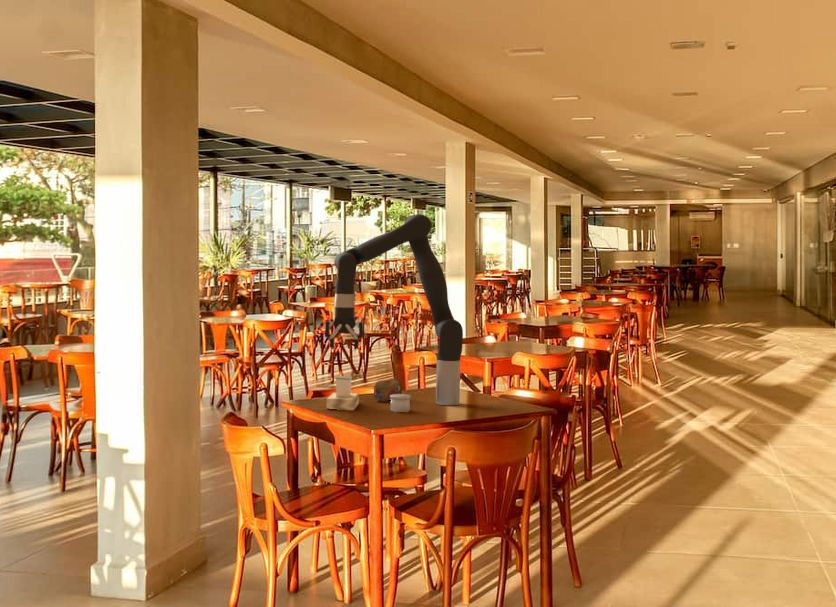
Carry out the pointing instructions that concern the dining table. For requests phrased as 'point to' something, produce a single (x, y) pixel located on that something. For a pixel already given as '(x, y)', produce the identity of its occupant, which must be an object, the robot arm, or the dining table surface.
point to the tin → (386, 389)
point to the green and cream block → (343, 386)
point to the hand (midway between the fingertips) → (344, 349)
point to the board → (343, 402)
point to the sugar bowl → (400, 402)
